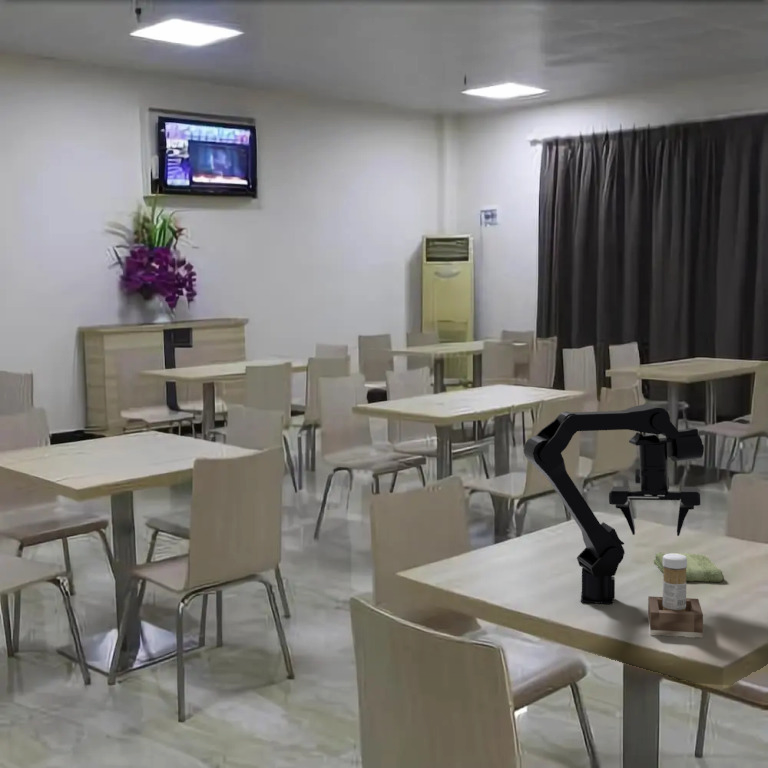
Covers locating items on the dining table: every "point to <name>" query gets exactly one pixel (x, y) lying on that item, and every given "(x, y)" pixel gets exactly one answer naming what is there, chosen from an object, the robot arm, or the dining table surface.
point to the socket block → (675, 619)
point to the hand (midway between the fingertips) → (655, 534)
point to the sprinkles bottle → (674, 582)
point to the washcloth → (696, 568)
